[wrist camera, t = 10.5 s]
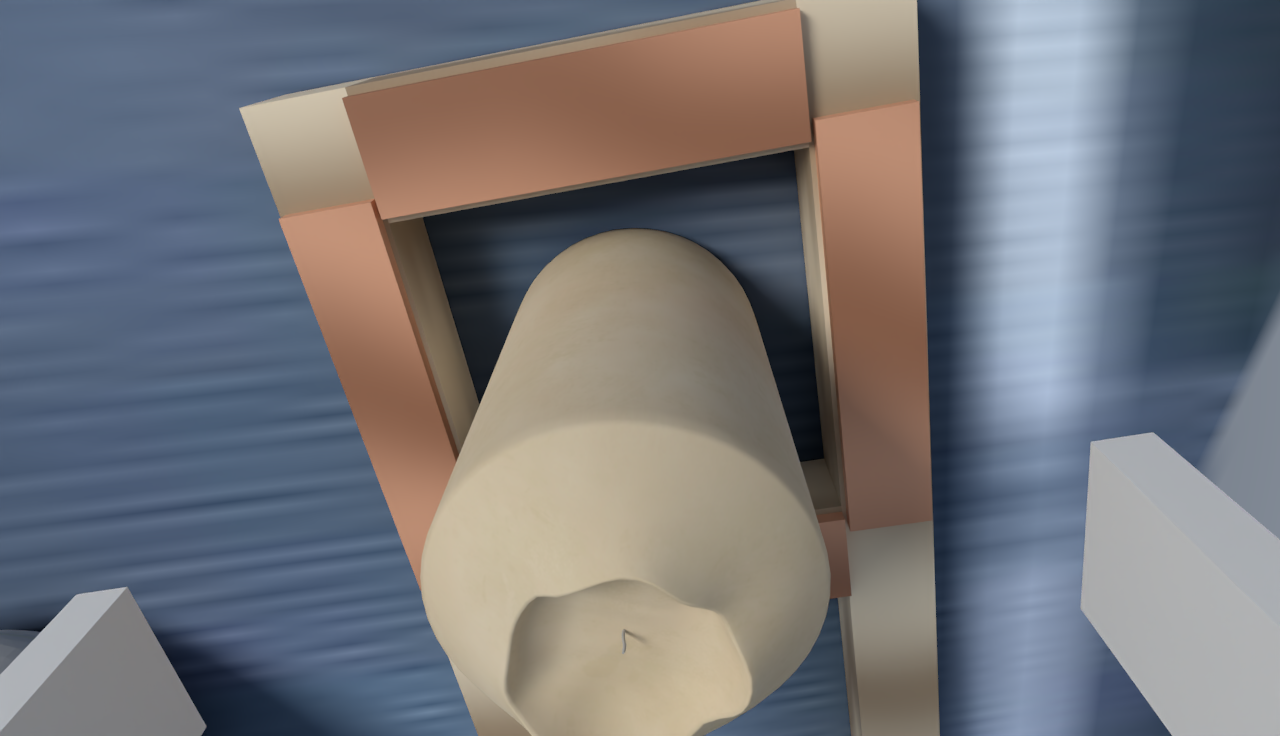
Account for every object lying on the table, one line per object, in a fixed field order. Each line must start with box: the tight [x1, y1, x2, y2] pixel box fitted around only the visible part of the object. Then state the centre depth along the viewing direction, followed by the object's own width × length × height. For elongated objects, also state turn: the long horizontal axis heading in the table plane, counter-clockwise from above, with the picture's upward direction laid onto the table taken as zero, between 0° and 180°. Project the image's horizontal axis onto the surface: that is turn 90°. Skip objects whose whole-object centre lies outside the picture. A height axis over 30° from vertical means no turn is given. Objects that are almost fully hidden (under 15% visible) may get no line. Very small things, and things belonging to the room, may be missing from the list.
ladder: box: [239, 0, 940, 736], centre depth 22 cm, size 34×12×2 cm, turn 10°
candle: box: [420, 228, 831, 736], centre depth 14 cm, size 6×6×10 cm
